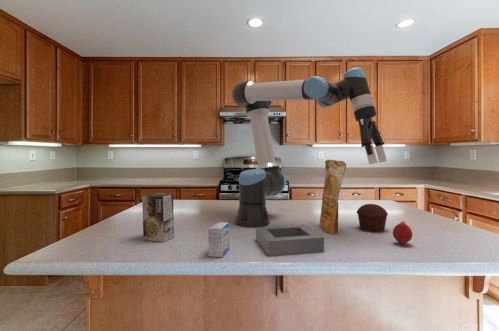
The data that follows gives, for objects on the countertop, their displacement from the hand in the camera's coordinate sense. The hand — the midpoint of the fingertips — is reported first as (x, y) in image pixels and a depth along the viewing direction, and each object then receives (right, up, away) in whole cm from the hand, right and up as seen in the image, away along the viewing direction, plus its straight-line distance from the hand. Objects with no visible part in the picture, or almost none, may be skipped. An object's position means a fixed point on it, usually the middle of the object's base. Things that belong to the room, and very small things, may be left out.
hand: (378, 162), depth 103 cm
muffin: (+2, -27, +10) cm, 29 cm away
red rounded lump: (+3, -28, -9) cm, 30 cm away
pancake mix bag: (-15, -27, +10) cm, 32 cm away
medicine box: (-57, -28, -17) cm, 66 cm away
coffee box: (-81, -28, -3) cm, 85 cm away
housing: (-35, -28, -10) cm, 46 cm away
